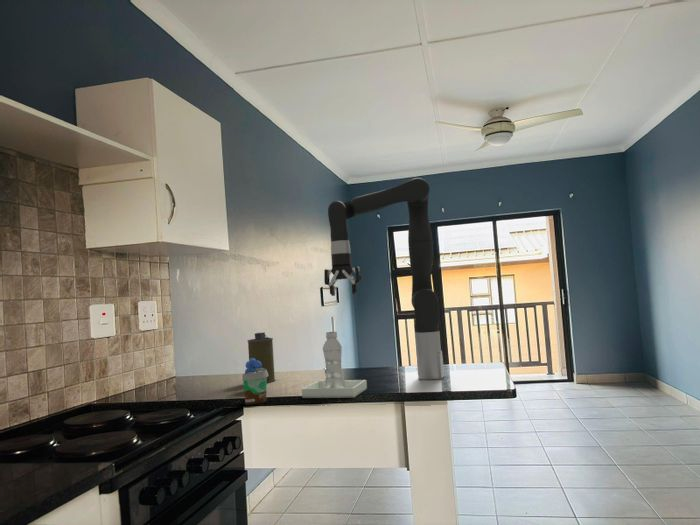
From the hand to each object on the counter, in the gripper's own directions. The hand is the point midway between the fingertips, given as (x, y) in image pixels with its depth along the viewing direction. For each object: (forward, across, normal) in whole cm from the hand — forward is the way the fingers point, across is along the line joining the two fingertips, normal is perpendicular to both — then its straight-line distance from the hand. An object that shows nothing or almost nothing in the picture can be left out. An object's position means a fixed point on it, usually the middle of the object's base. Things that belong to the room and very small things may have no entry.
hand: (343, 295), depth 198 cm
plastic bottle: (+33, +2, -21) cm, 39 cm away
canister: (+33, -39, +4) cm, 51 cm away
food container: (+33, -20, -34) cm, 52 cm away
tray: (+33, +2, -22) cm, 40 cm away
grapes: (+33, -32, -16) cm, 49 cm away
